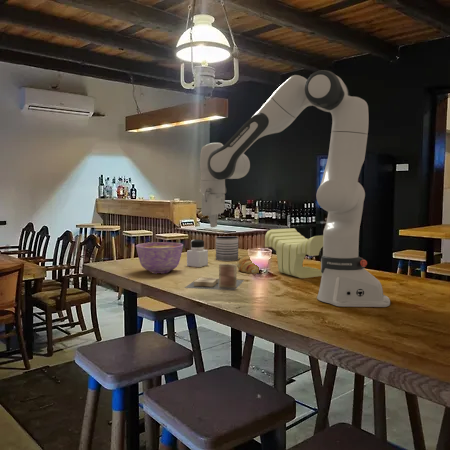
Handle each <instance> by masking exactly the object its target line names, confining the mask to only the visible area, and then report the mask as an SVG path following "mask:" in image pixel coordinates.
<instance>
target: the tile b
mask: <svg viewBox="0 0 450 450" xmlns="http://www.w3.org/2000/svg"><path fill="white" fill-rule="evenodd" d="M237 264H238V263H237ZM237 264H233V263H230V264H229V263H219V264H218V279H219V287H233V288H236V280H237V271H238V270H237V269H238V267H237ZM236 289H237V288H236Z"/></svg>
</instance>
